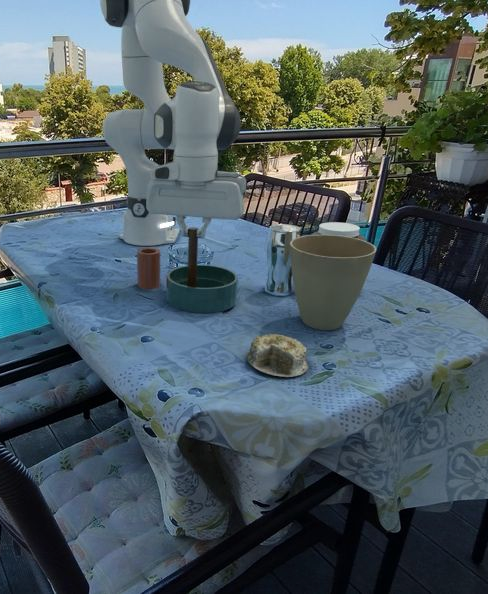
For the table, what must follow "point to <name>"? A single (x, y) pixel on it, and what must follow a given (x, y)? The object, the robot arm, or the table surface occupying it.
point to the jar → (339, 230)
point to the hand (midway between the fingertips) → (193, 236)
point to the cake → (278, 355)
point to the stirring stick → (192, 257)
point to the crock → (148, 268)
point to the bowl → (202, 289)
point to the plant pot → (328, 277)
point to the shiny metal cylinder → (280, 259)
